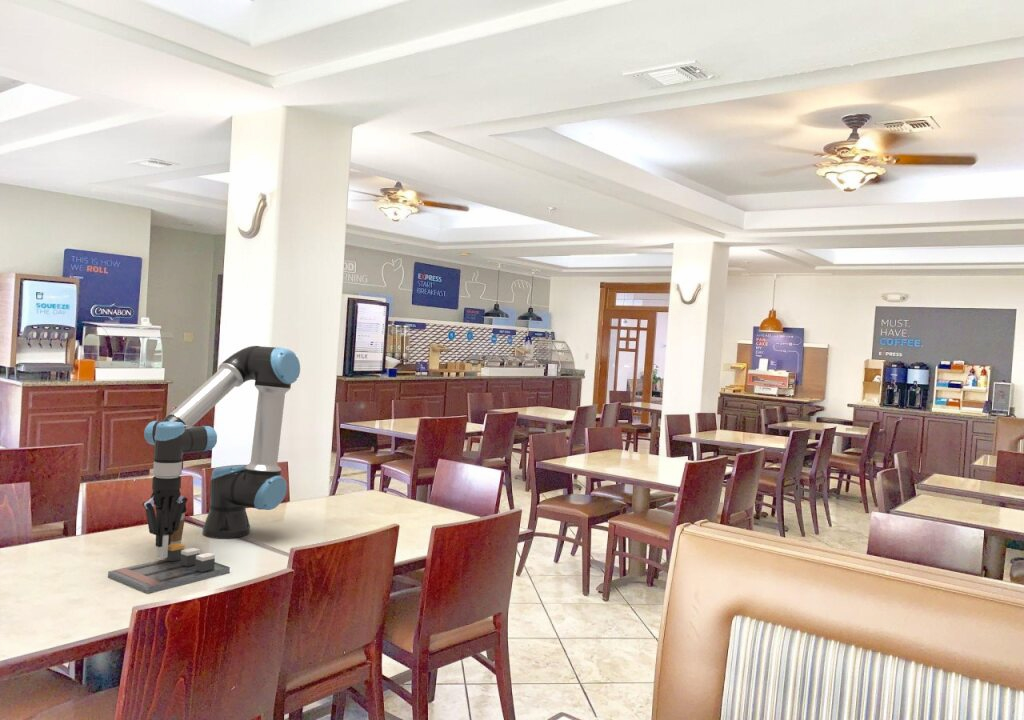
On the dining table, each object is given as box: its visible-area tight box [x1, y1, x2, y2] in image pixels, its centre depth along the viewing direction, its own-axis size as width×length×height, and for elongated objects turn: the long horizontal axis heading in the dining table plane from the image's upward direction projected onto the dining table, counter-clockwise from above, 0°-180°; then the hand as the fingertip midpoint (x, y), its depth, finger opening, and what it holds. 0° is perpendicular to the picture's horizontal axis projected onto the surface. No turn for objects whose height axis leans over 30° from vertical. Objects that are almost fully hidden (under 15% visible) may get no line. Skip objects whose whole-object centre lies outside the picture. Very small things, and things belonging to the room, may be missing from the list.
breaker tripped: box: [164, 543, 185, 561], centre depth 224 cm, size 4×3×4 cm
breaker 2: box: [195, 552, 216, 572], centre depth 216 cm, size 4×3×4 cm
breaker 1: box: [180, 547, 201, 566], centre depth 220 cm, size 4×3×4 cm
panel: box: [107, 558, 231, 595], centre depth 215 cm, size 25×19×2 cm
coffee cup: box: [170, 502, 187, 545], centre depth 237 cm, size 8×8×15 cm
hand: (162, 557), depth 220 cm, fingers closed
